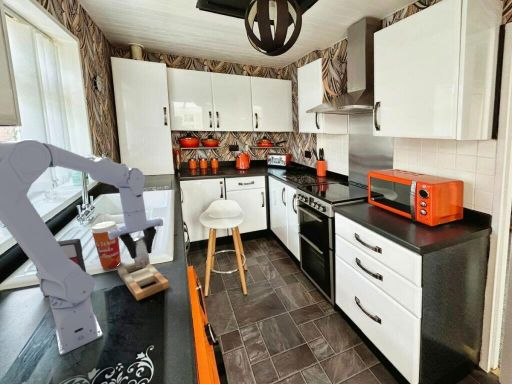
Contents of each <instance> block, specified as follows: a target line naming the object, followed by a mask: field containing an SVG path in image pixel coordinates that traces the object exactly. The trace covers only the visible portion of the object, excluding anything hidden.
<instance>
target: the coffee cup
mask: <svg viewBox="0 0 512 384" xmlns="http://www.w3.org/2000/svg"><path fill="white" fill-rule="evenodd" d="M117 228H119V225H118V224H117V223H116V221H110V220H109V221H103V222H98V223H96V224H94V225H93V226H92V227H91V230H90V233H92V237H93V242H94V244H95V247H96V251H97V255H98V258H99V262H100V266H101V268H102V267H103V268H104V269H103V268H102V269H103V270H110V269H114V268H117V267H118V266H117V265H118V264H119V263H120V262H121V260H122V259H121V251H120V250H121V249H120V240H119V237H116V238H115V239H112V240H110V239H109V236H108V231H111V230H114V229H117ZM121 263H122V262H121ZM116 266H117V267H116Z"/></svg>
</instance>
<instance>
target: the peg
mask: <svg viewBox="0 0 512 384" xmlns="http://www.w3.org/2000/svg"><path fill="white" fill-rule="evenodd" d="M132 238H133V248H134V253H135V259H133V261H134V263H135V266H136V267H145V266H147V265H149V264H151V261H150V254H149V253H148V247H147V241H146V237H145V236H144V235H140V236H134V237H132Z"/></svg>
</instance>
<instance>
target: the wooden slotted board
mask: <svg viewBox="0 0 512 384" xmlns="http://www.w3.org/2000/svg"><path fill="white" fill-rule="evenodd" d="M116 269H117V274H118V276H119V277H120V278H121V280H122V281H123V282H124V284H125V285H126V288H128V290H129V291H130V292H131V294H132V295H133V297H134V298H135V299H136V301H137V302H138V301H140V300H142V299H145V298H147V297H150V296H152V295H155V294H157V293H158V292H161V291H164V290H166V289H169V288H170V284H169V283H170V282H169V279H167V278H166V277H165V276H163V274H162V273H160V271H158V270H157V268H155V267H154V266H153V265H152V264H151V263H150V264H149V265H147V266H145V267H136V266H135V262H133V263H130V264H126V265H124V266H121V267H119V268H117V267H116ZM154 282H155V283H154ZM151 283H154V284H152V285H149V286H147V287H144V288H141V287H143V286H145V285H148V284H151Z"/></svg>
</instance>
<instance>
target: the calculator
mask: <svg viewBox="0 0 512 384" xmlns="http://www.w3.org/2000/svg"><path fill="white" fill-rule="evenodd" d="M56 241H57V240H56ZM57 242H58V244H59V245H60V247H61V248H62V250H63V251H64V253H65V254H66V256H67V257H68V258H69V259H70V260H72V261H73V262H75V263H76V264H77V265H79V266H80V267H81V269H82V270H83V271H84V272H86V273H87V268H86V265H85V260H84V255H83V246H82V242H81V238H73V239H66V240H64V239H63V240H59V241H57ZM35 268H36V267H35ZM37 271H38V269H37V268H36V272H37ZM42 295H43V297H49V296H48V295H45V294H43V293H42Z"/></svg>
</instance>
